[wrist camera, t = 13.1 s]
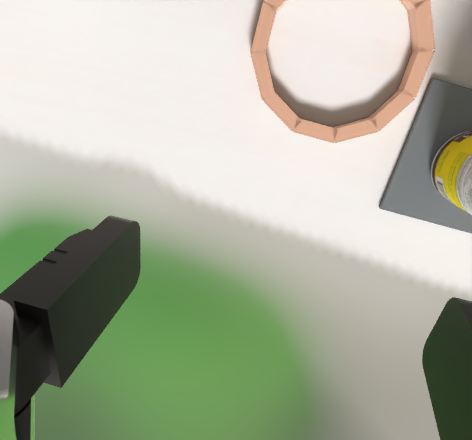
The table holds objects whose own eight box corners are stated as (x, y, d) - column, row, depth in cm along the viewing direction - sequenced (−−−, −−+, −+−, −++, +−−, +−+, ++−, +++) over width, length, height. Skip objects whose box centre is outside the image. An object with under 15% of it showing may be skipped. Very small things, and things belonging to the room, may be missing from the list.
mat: (431, 79, 27) (433, 78, 27) (562, 115, 27) (567, 116, 27) (379, 207, 30) (380, 208, 30) (496, 238, 31) (499, 240, 30)
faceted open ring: (281, -69, 25) (282, -76, 24) (455, -19, 25) (464, -24, 24) (235, 114, 29) (234, 115, 28) (386, 155, 29) (391, 158, 28)
